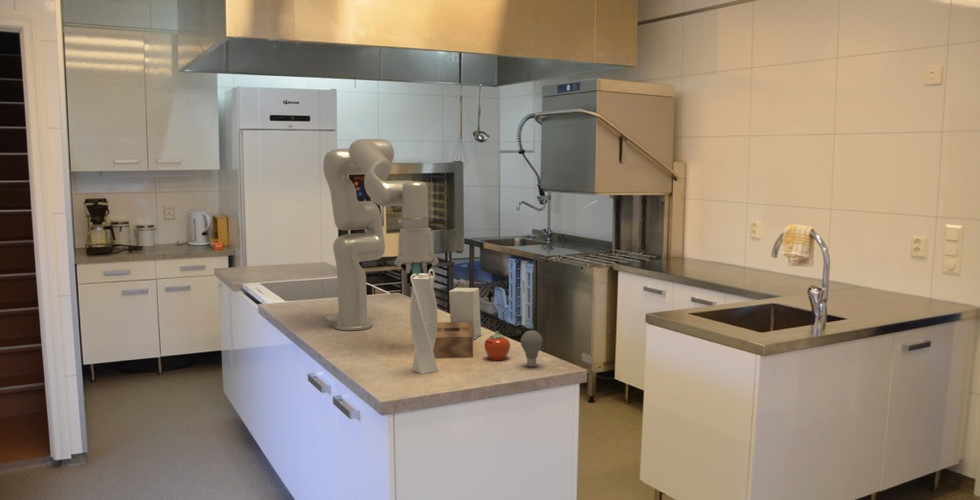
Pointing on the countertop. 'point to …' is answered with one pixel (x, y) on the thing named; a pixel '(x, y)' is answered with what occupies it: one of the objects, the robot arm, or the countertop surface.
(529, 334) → the light bulb
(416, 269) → the teal peg
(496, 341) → the tomato
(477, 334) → the skincare box
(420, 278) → the skyscraper
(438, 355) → the walnut socket block
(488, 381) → the countertop surface
